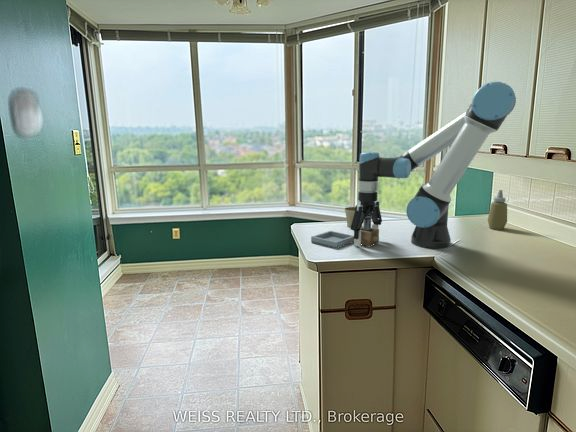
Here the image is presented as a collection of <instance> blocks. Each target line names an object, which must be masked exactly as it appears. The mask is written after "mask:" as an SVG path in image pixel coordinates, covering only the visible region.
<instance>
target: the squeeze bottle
mask: <svg viewBox="0 0 576 432" xmlns="http://www.w3.org/2000/svg"><path fill="white" fill-rule="evenodd" d="M487 223H488V227H489V228H490V229H491V230H500V231H501V230H505V227H506V225H507V223H508V204H507V202H506V198H505V197H504V194H503V190H502V189H499V190H498V193H497V195H496V197H494V198H493V201H492V202H491V203H490V208H489V211H488V216H487Z"/></svg>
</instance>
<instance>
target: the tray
mask: <svg viewBox="0 0 576 432" xmlns="http://www.w3.org/2000/svg"><path fill="white" fill-rule="evenodd" d="M310 238H311V239H310V240H311V241H310V242H311V243H312V244H315V245H316V244H317V245H320V246H323V245H325V246H324V247H327V246H329V247H328V248H331V247H333V249H335V248H337V249H338V247H339V248H341V247H340V246H342V247H344V246H343V245H345V246H347V245H350V244H352V243H351V242H353V243H354V234H352V235H351V234H348V233H343V232H338V231H334V230H329V231H326V232H322V233H319V234H316V235H312V236H311V237H310ZM349 243H350V244H349ZM346 244H347V245H346Z"/></svg>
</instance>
